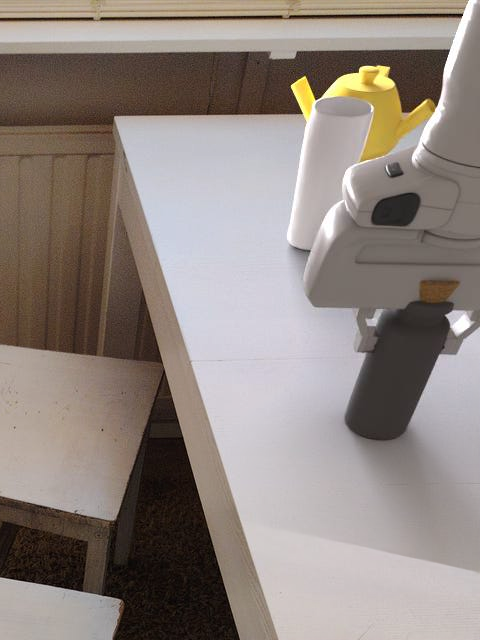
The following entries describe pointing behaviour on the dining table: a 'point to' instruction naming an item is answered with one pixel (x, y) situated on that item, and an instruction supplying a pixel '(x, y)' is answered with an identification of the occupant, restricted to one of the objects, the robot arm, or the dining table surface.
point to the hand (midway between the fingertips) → (402, 350)
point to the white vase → (326, 162)
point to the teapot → (385, 101)
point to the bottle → (400, 363)
